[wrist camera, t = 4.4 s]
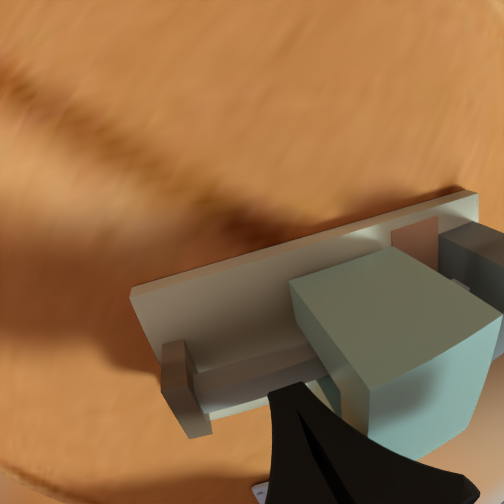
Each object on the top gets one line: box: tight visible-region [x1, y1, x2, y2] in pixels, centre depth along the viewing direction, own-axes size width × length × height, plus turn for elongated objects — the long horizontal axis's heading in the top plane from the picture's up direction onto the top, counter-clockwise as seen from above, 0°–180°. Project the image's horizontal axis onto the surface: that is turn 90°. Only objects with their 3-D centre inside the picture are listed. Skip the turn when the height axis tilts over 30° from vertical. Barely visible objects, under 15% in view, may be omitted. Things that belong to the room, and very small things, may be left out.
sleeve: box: [288, 246, 503, 461], centre depth 11 cm, size 6×5×6 cm
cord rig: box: [129, 190, 504, 439], centre depth 13 cm, size 8×18×6 cm, turn 102°
